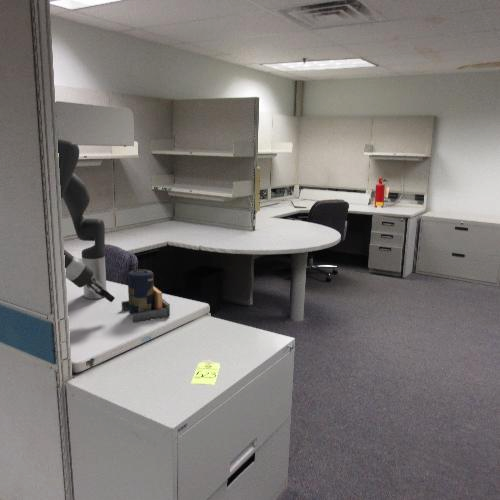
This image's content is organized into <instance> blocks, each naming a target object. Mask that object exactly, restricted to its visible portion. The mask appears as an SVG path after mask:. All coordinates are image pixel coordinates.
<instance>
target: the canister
mask: <svg viewBox="0 0 500 500" xmlns="http://www.w3.org/2000/svg"><path fill="white" fill-rule="evenodd" d="M154 284H155V283H154V272H153V271H152V270H150V269H144V268H143V269H142V268H141V269H140V268H139V269H134V270H131V271H129V272H128V274H127V293H128V301H129V310H128V313H129V315H130V316H132V313H135V312H141V311H147V310H153V309H154V287H155V285H154Z"/></svg>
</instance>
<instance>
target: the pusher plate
mask: <svg viewBox="0 0 500 500" xmlns="http://www.w3.org/2000/svg"><path fill="white" fill-rule="evenodd" d="M162 298H163V292H162V291H161V290H159V289H158V288H157V287H155V286H154V309H160V308H162Z"/></svg>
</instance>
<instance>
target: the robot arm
mask: <svg viewBox="0 0 500 500" xmlns="http://www.w3.org/2000/svg"><path fill="white" fill-rule="evenodd" d="M57 139H58V153H59V168H60V185H61V198H62V199H63V201H64V204H65V205H66V208H67V210H68V212H69V215H70V218H71V220H72V224H73V228H74V230H75V231H74V232H75V233H76V236H77V238H78V240H80V241H83V242H84V241H85V242H94V244H93V245H92V246H90V247H86V248H84V249H82V250H81V260H80V259H79V258H77V257H76V256H74V255H72V254H71V253H70V252H68V250H66V249H64V248H63V249H64V255H65V268H66V277H65V278H66V279H67V280H68V281H70V282H71V283H73V284H74V285H75V286H76V287H78V288H83V297H84V298H85V299H91V300H94V299H95V300H97V299H98V300H99V299H102V298H105V300H107V301H109V302H110V303H112V302H113V301H114V300H115V299H116V298H115V297H114V295H112V294H111V293H110V292H109V291H108V290H107V274H106V273H107V271H106V269H107V268H106V252H105V251H106V241H105V240H106V239H105V238H106V226H105V222H104V220H103V219H101V218H85V217H84V216H83V215H84V213H85V212H86V210H87V208H88V207H89V204H90V199H91V198H90V194H89V192H88V189H87V187H86V184H85V183H84V182H83V180H82V179H80V177H78V175H77V174H75V173H74V172H75V170H76V168H77V164H78V162H79V157H80V146H79V145H78V144H77V143H76V142H75V141H72V140H66V139H59V138H57Z"/></svg>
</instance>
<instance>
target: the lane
mask: <svg viewBox="0 0 500 500" xmlns="http://www.w3.org/2000/svg"><path fill="white" fill-rule="evenodd" d="M170 307H171V305H170V303H169V302H168V301H166V300H165V299H164V298H163V297H162V308H160V309H153V310H147V311H141V312H135V313H132V315H131V316H132V323H133V324H136V323H142V322H147V321H146V320H148V321H152V320H151V319H154V320H158V319H157V318H160V319H163V318H162V317H165V318H169V317H168V316H170V317H171V310H170V309H171V308H170ZM121 311H122V312H125V311H129V300H124V301H121ZM141 321H142V322H141Z"/></svg>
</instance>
